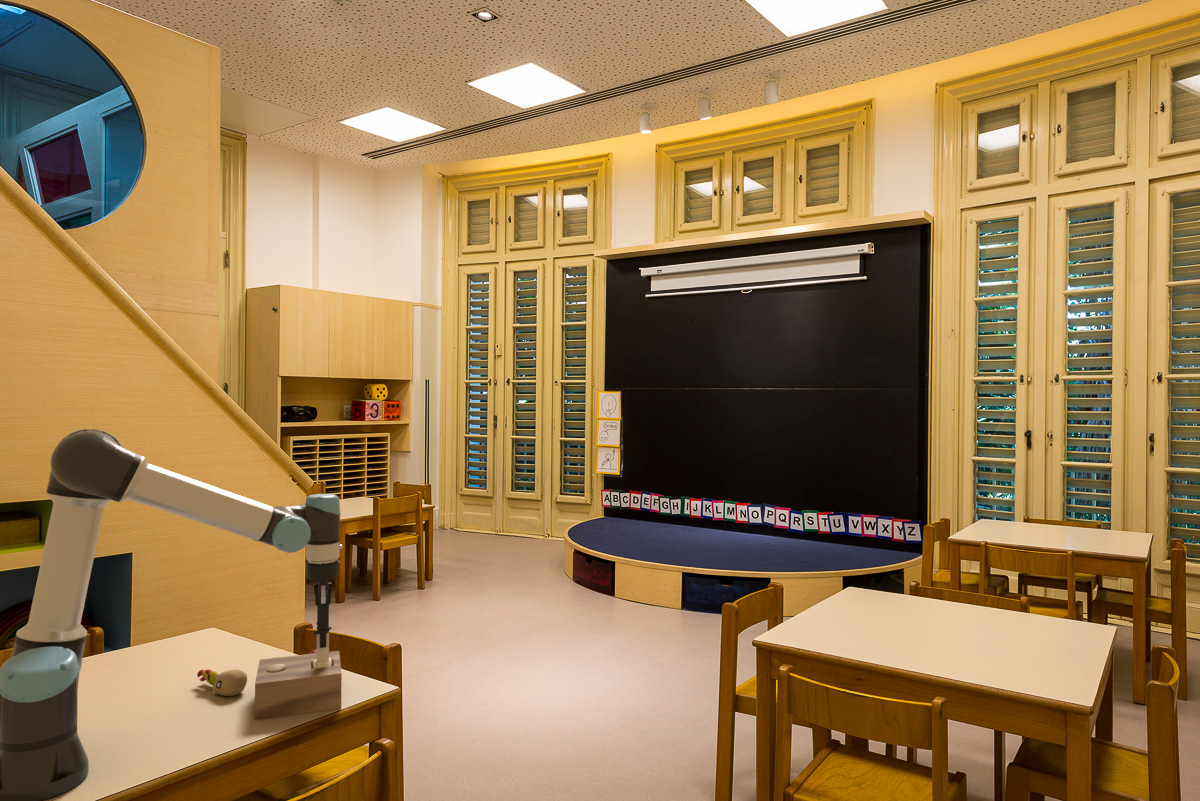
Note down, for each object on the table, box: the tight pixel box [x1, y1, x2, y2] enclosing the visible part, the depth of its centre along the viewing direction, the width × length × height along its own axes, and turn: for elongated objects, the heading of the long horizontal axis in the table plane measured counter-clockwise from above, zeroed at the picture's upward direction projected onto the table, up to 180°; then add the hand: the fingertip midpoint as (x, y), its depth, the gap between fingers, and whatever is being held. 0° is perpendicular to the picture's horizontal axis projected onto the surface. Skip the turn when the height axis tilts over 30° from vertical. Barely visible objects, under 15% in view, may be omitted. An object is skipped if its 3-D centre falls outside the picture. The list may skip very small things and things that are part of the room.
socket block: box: [254, 650, 343, 721], centre depth 175 cm, size 16×18×8 cm
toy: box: [196, 669, 248, 697], centre depth 181 cm, size 6×7×15 cm
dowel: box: [313, 658, 331, 668], centre depth 177 cm, size 4×4×8 cm
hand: (322, 659), depth 177 cm, fingers closed
